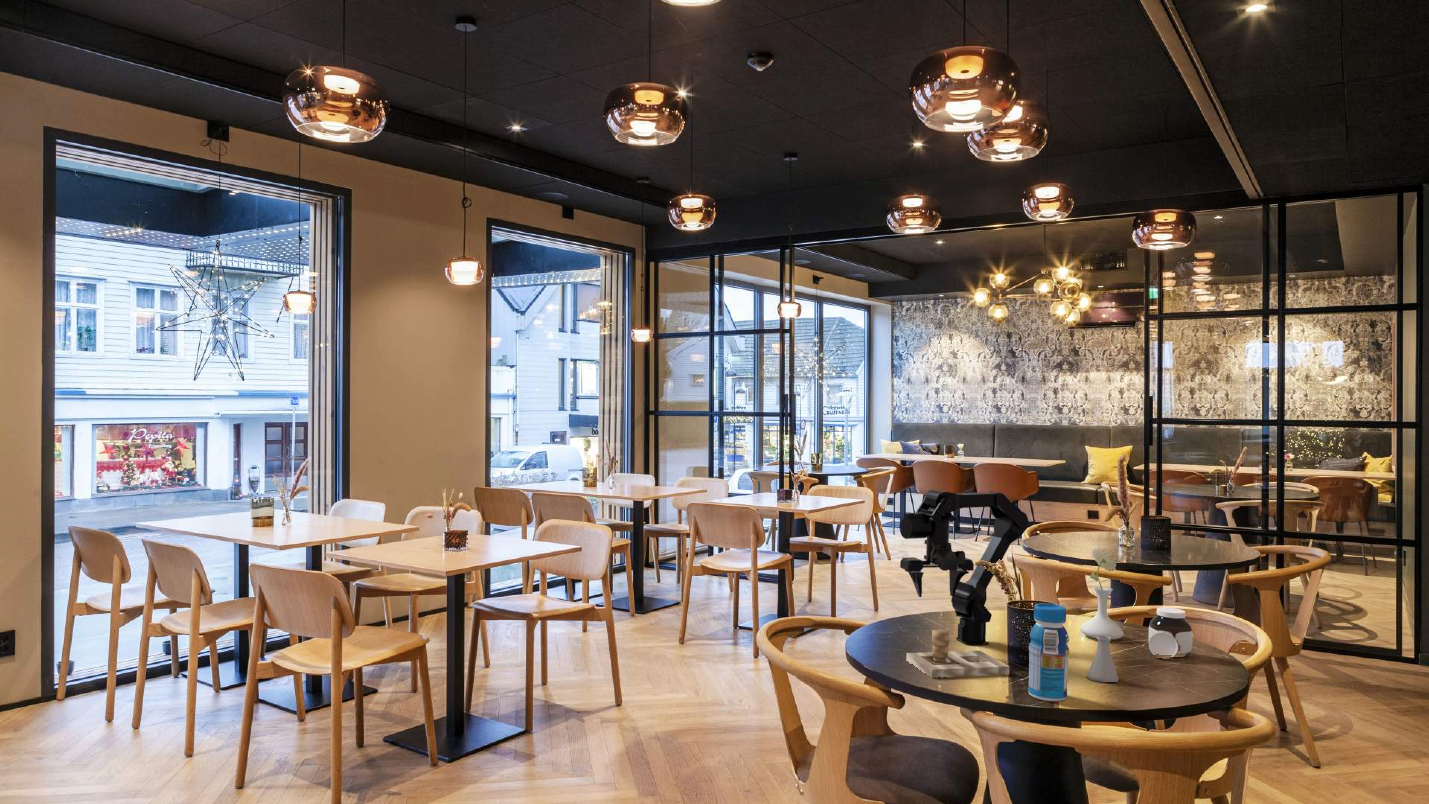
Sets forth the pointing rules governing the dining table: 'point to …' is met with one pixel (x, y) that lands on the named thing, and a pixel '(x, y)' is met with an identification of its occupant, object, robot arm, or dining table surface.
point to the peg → (940, 645)
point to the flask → (1103, 663)
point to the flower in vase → (1102, 602)
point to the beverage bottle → (1048, 653)
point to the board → (958, 664)
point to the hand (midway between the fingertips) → (936, 596)
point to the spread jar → (1170, 632)
